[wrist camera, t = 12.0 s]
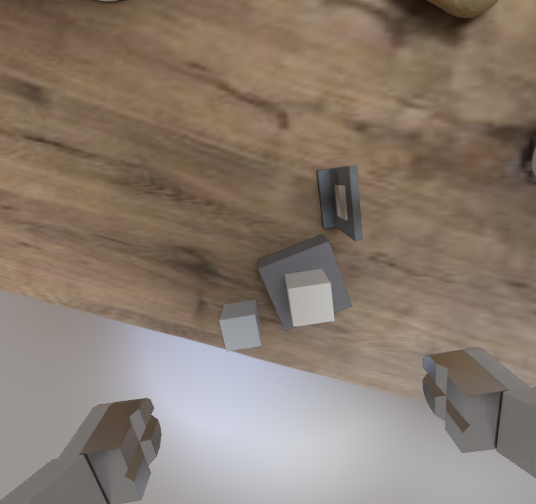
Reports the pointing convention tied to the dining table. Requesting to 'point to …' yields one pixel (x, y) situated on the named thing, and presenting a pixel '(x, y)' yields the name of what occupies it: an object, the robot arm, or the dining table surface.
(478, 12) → the bread roll
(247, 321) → the grey blue cube
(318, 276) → the ivory cube
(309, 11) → the dining table surface
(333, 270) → the base block
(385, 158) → the dining table surface
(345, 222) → the standing grey panel
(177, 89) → the dining table surface
